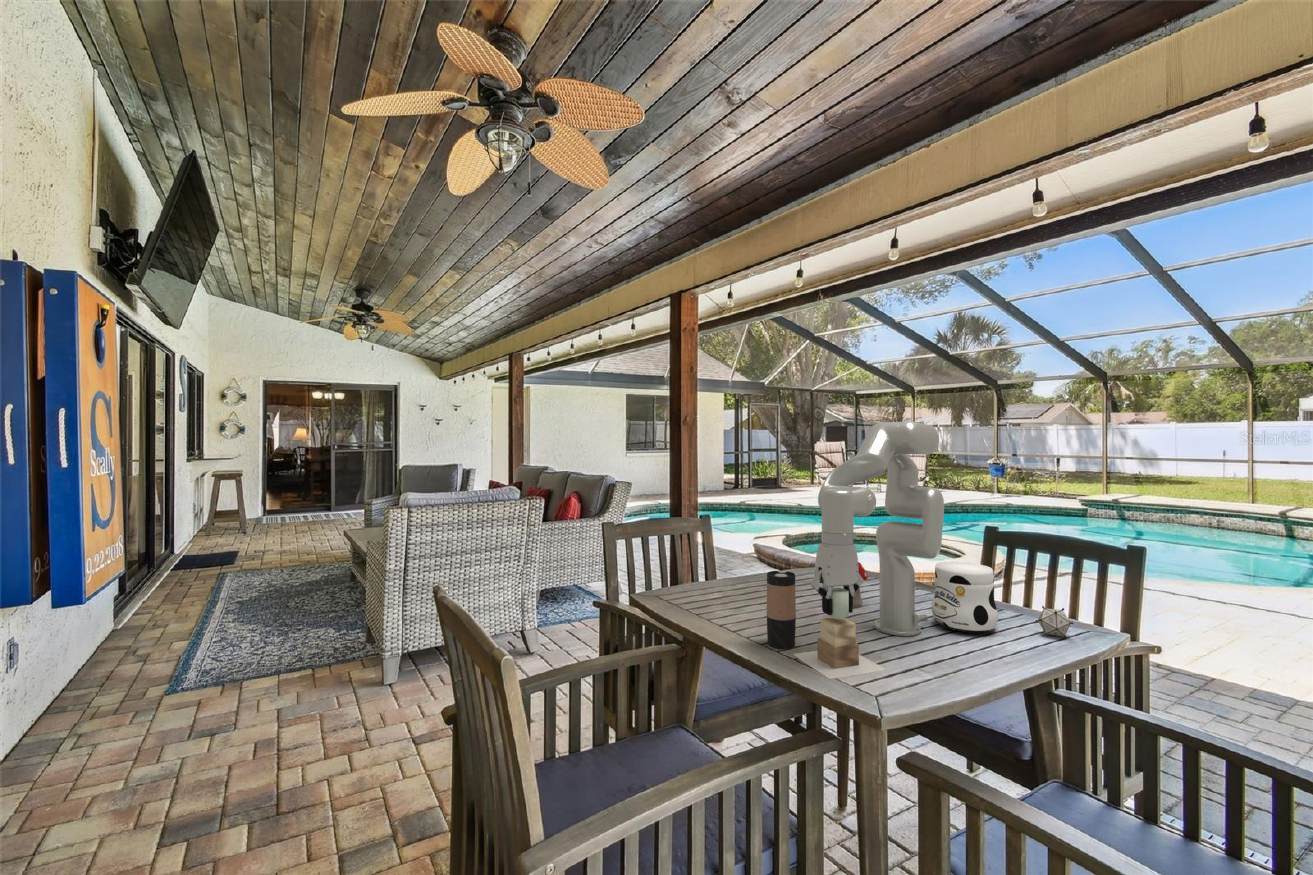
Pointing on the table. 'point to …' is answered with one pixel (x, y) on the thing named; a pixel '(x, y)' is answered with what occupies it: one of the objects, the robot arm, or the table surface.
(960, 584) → the milk container
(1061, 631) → the beige icosahedron ornament
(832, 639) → the tower top block
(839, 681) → the table surface
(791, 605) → the travel mug
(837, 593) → the sage cylinder
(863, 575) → the decorative mushroom
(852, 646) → the tower base block
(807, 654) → the stone tile
